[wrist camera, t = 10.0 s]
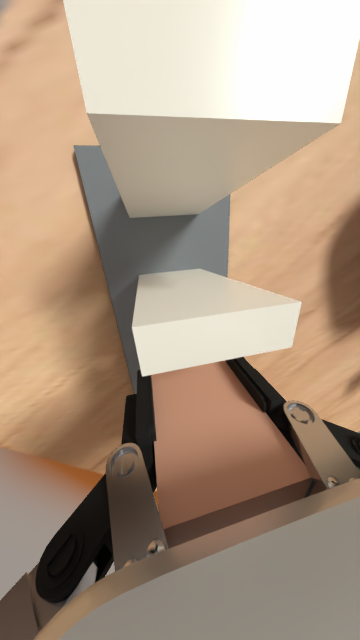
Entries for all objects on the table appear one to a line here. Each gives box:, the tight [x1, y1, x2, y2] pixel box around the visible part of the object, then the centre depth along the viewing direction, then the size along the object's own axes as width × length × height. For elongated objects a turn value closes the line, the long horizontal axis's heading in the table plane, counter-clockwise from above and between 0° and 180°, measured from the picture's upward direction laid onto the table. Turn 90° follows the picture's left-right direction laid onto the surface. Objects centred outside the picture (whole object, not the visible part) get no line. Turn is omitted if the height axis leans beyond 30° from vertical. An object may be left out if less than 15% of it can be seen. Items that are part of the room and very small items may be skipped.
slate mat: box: [74, 145, 230, 394], centre depth 16 cm, size 28×10×1 cm, turn 4°
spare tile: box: [151, 360, 313, 549], centre depth 10 cm, size 2×5×10 cm, turn 94°
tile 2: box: [132, 269, 302, 377], centre depth 10 cm, size 2×5×10 cm, turn 94°
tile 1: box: [63, 0, 360, 218], centre depth 7 cm, size 2×5×10 cm, turn 94°
